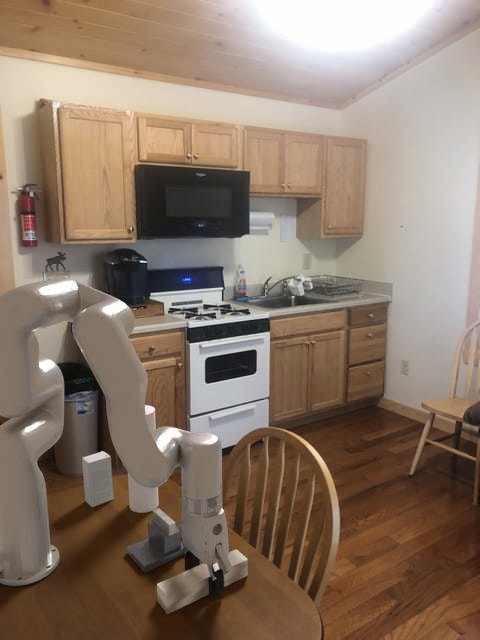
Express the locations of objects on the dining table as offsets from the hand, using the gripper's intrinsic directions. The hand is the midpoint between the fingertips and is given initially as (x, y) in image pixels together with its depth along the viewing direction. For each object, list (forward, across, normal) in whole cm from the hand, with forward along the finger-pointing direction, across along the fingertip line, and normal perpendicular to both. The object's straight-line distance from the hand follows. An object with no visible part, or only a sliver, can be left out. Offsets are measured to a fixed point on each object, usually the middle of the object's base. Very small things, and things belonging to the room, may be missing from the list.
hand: (204, 581), depth 101 cm
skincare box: (+1, +43, +3) cm, 43 cm away
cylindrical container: (+1, +34, -5) cm, 34 cm away
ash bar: (+2, 0, 0) cm, 2 cm away
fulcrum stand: (+1, +15, 0) cm, 15 cm away
